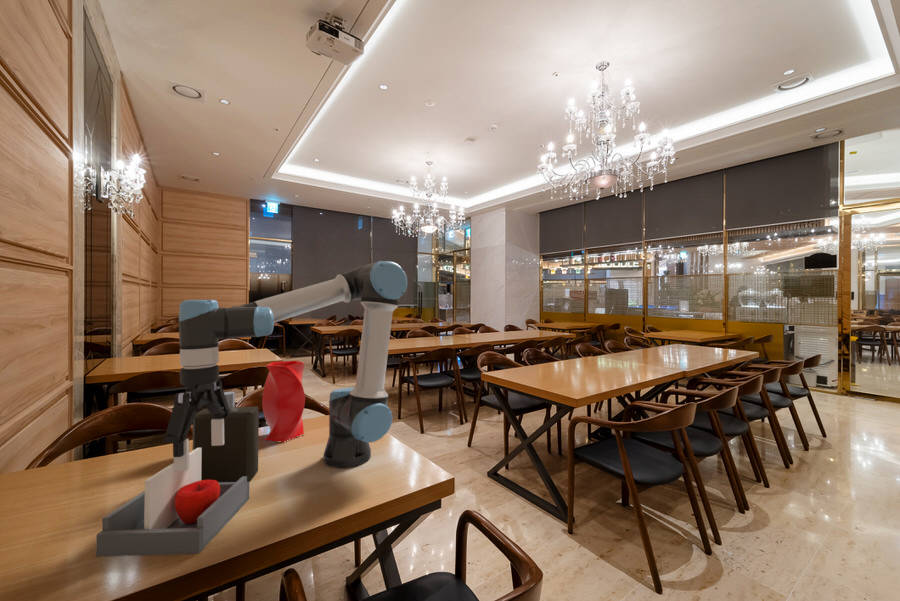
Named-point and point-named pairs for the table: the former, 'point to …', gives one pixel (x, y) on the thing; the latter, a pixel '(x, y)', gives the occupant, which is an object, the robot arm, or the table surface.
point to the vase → (284, 400)
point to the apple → (196, 499)
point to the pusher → (168, 492)
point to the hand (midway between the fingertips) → (201, 456)
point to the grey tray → (131, 538)
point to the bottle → (228, 443)
